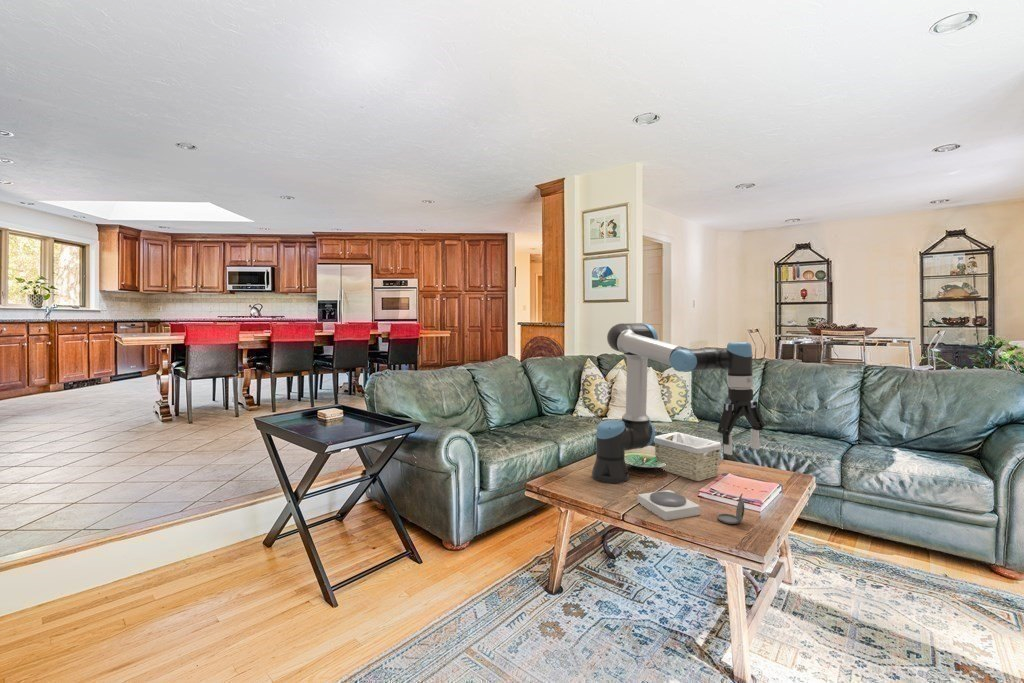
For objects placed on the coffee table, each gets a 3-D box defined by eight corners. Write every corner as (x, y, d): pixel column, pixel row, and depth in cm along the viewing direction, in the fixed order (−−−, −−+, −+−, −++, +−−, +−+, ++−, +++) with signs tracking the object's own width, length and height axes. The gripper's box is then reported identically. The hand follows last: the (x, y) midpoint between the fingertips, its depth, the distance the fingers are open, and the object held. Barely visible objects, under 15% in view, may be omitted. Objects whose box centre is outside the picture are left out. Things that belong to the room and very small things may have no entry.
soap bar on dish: (637, 502, 168) (637, 492, 168) (669, 497, 173) (669, 487, 173) (665, 520, 153) (665, 509, 153) (700, 514, 158) (700, 503, 158)
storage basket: (651, 468, 208) (652, 435, 207) (675, 462, 217) (676, 430, 216) (697, 484, 188) (698, 448, 187) (722, 476, 196) (723, 442, 195)
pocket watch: (714, 516, 157) (715, 487, 156) (740, 517, 156) (741, 487, 156) (723, 526, 149) (723, 496, 148) (750, 528, 148) (751, 497, 147)
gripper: (724, 391, 147) (725, 458, 147) (774, 386, 158) (776, 448, 158) (704, 389, 154) (706, 454, 154) (754, 384, 165) (756, 444, 165)
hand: (741, 451), depth 156 cm, fingers open, 13 cm apart
